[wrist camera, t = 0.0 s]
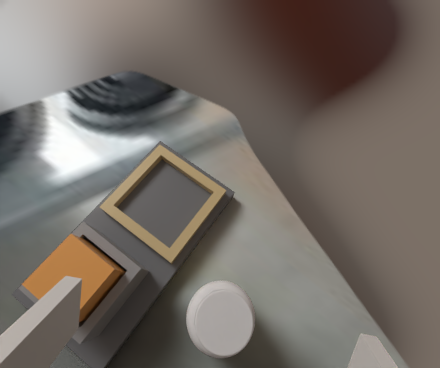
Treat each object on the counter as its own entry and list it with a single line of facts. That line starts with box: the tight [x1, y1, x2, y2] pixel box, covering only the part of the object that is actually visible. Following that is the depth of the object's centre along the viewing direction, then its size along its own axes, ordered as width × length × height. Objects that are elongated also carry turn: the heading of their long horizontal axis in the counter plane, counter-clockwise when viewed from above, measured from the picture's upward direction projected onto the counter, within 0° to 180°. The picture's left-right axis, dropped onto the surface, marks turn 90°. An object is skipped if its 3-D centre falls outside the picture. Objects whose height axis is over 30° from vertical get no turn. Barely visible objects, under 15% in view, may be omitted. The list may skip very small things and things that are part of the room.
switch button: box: [22, 234, 126, 322], centre depth 21 cm, size 5×5×4 cm
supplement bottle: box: [186, 281, 255, 358], centre depth 22 cm, size 5×5×10 cm
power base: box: [12, 141, 234, 368], centre depth 26 cm, size 21×11×6 cm, turn 145°
